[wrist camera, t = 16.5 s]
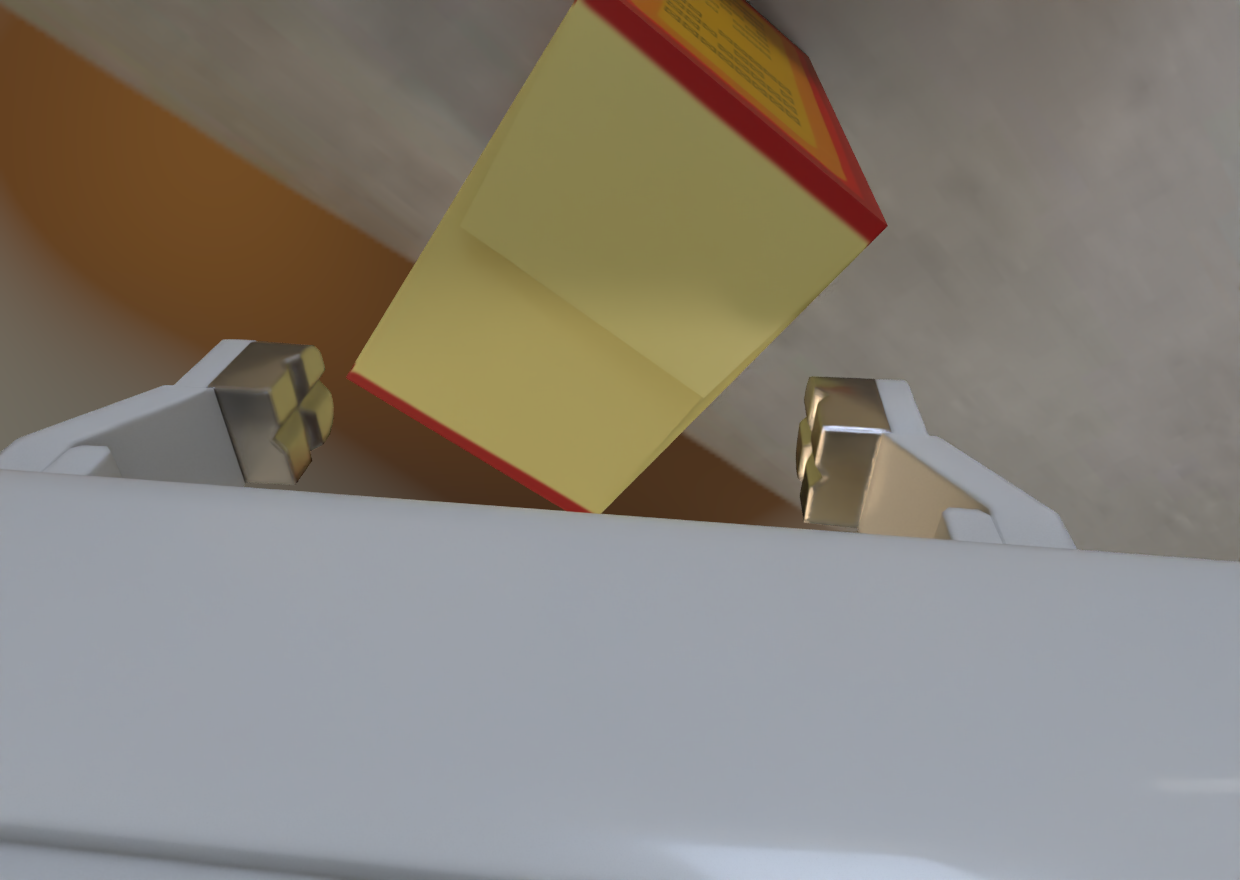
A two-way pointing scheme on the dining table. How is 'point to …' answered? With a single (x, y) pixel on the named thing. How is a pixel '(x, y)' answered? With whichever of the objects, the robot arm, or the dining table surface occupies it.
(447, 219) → the baking soda box
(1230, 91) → the dining table surface
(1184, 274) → the dining table surface
